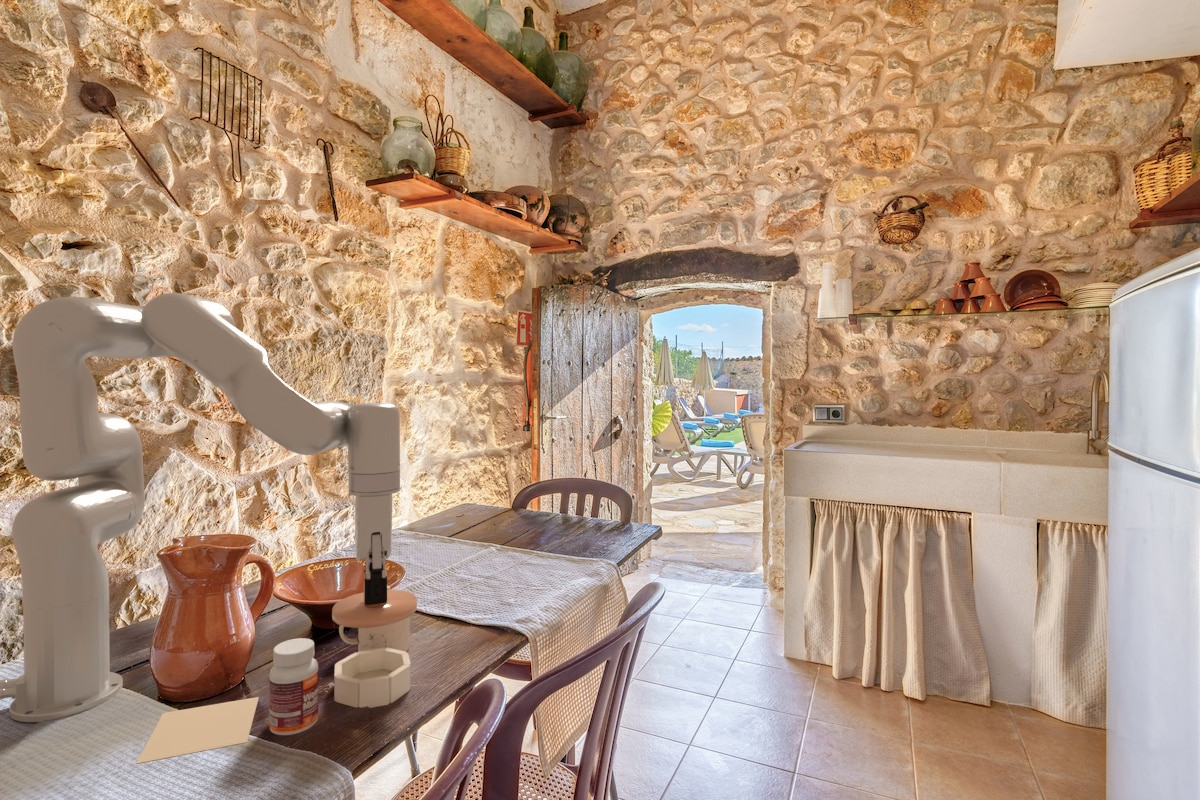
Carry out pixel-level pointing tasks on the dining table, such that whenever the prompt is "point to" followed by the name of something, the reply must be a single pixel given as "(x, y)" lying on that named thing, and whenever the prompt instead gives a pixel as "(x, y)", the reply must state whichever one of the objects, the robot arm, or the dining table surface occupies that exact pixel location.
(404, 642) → the teacup with lid
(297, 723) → the pill bottle
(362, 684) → the bowl
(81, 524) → the robot arm
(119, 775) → the dining table surface
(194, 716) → the mat
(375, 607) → the lid
